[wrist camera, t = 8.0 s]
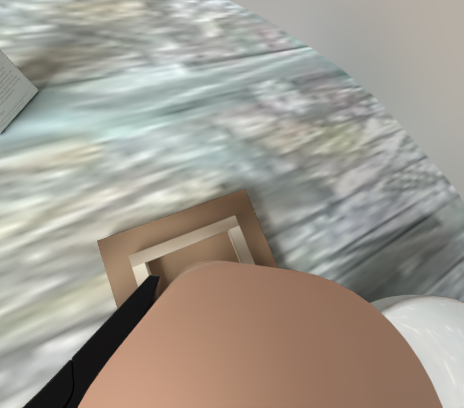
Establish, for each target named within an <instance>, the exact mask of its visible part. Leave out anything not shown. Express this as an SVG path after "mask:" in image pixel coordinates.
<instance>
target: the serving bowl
mask: <svg viewBox="0 0 464 408" xmlns="http://www.w3.org/2000/svg"><path fill="white" fill-rule="evenodd" d="M370 304H372V305H373V306H374V307H375V308H376V309H377V310H378V311H379V312H380V313H382V314H383V315H384V316H385V317H386V318H387V319H388V320H389V321H390V322H391V323H392V324H393V325H394V326H395V328H396V329H397V330H398V331H399V332H400V333H401V335H402V336H403V337H404V338H405V339H406V341H407V342H408V344H409V345H410V346H411V348H412V349H413V351H414V352H415V354H416V355H417V357H418V358H419V360H420V361H421V363H422V365H423V367H424V369H425V370H426V372H427V374H428V376H429V378H430V379H431V381H432V383H433V386H434V388H435V390H436V393H437V395H438V397H439V400H440V402H441V404H442V406H443V408H464V302H462V301H459V300H456V299H452V298H449V297H443V296H435V295H399V296H392V297H387V298H383V299H380V300H377V301H374V302H371V303H370Z"/></svg>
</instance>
